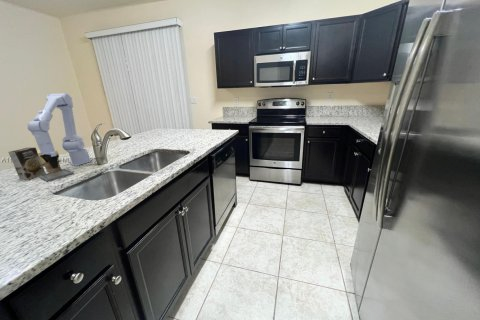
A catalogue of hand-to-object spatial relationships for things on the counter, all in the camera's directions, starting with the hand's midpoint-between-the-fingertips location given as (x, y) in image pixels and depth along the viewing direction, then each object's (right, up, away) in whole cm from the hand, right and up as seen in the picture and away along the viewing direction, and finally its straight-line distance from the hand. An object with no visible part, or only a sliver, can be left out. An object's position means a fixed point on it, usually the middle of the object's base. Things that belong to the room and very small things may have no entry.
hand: (53, 167), depth 112 cm
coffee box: (-14, -6, +2) cm, 15 cm away
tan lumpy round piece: (-26, +2, +25) cm, 36 cm away
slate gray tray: (0, -5, +2) cm, 5 cm away
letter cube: (0, -2, 0) cm, 2 cm away
